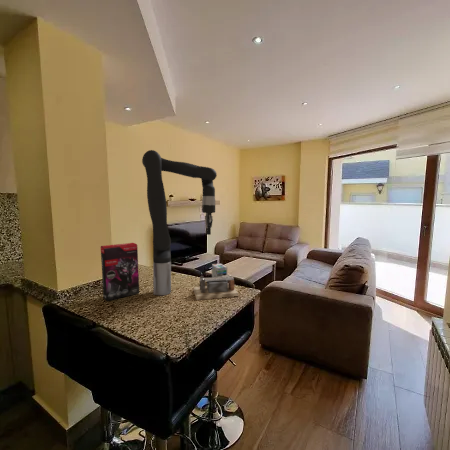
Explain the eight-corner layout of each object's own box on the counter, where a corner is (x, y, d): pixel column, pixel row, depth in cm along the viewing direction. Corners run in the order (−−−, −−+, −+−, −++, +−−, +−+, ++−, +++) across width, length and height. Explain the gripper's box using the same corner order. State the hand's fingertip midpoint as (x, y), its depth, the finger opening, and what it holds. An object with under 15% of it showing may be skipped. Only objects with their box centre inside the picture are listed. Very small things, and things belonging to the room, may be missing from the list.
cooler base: (196, 299, 127) (196, 282, 126) (193, 290, 140) (193, 274, 140) (238, 296, 132) (238, 279, 131) (231, 287, 145) (231, 272, 145)
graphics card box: (105, 302, 123) (104, 247, 120) (101, 298, 128) (99, 245, 125) (139, 294, 134) (138, 243, 132) (134, 290, 139) (133, 242, 137)
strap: (201, 282, 132) (201, 278, 132) (200, 280, 135) (200, 276, 135) (233, 280, 136) (234, 276, 136) (232, 278, 139) (232, 274, 139)
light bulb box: (227, 284, 151) (227, 267, 150) (217, 285, 149) (217, 268, 148) (221, 279, 161) (221, 263, 160) (211, 280, 159) (211, 264, 158)
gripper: (200, 204, 148) (200, 233, 149) (203, 204, 135) (203, 236, 136) (213, 204, 149) (212, 233, 151) (217, 204, 137) (217, 235, 138)
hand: (208, 234), depth 144 cm, fingers closed
